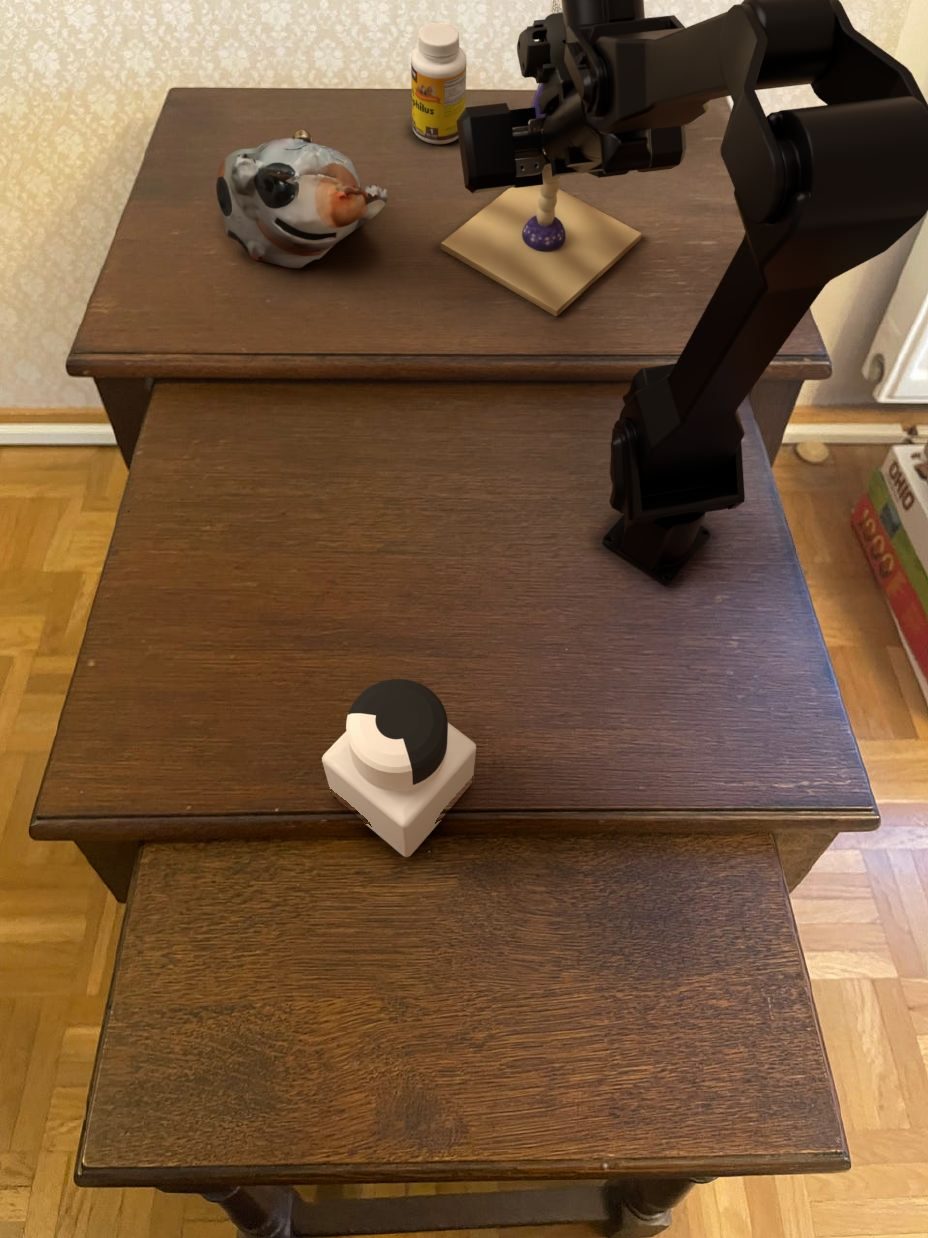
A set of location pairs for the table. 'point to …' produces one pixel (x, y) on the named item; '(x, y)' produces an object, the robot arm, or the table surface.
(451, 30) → the supplement bottle
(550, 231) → the toy lamp
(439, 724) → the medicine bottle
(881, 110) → the robot arm
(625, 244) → the mat
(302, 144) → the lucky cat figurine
